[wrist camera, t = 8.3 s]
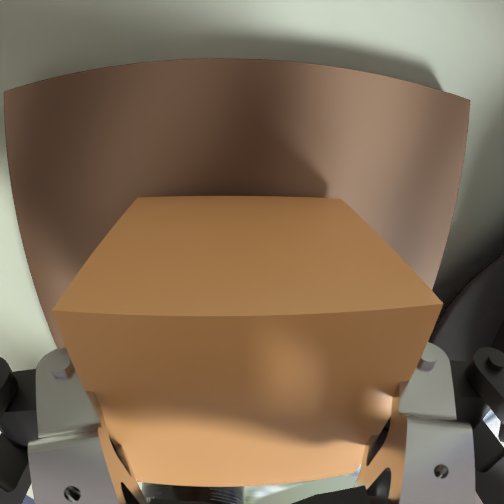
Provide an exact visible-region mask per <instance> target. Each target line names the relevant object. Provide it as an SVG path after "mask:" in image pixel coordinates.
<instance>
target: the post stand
mask: <svg viewBox="0 0 504 504" xmlns="http://www.w3.org/2000/svg"><path fill="white" fill-rule="evenodd" d="M469 111H470V100H468V99H465V98H463V97H460V96H457V95H454V94H451V93H447V92H444V91H441V90H438V89H434V88H431V87H427V86H424V85H420V84H416V83H413V82H409V81H405V80H401V79H396V78H392V77H388V76H383V75H378V74H374V73H368V72H363V71H358V70H352V69H346V68H340V67H333V66H326V65H318V64H310V63H301V62H290V61H278V60H262V59H229V58H214V59H182V60H166V61H154V62H143V63H134V64H126V65H119V66H112V67H105V68H99V69H93V70H88V71H82V72H77V73H72V74H68V75H63V76H59V77H54V78H50V79H46V80H42V81H38V82H35V83H31V84H28V85H24V86H21V87H17V88H14V89H11V90H8V91H4V117H5V135H6V147H7V157H8V166H9V174H10V181H11V187H12V194H13V199H14V205H15V210H16V215H17V220H18V225H19V230H20V234H21V238H22V242H23V247H24V250H25V254H26V258H27V262H28V265H29V269H30V272H31V276H32V279H33V282H34V286H35V289H36V292H37V295H38V298H39V301H40V304H41V307H42V310H43V312H44V315H45V318H46V321H47V323H48V326H49V329H50V331H51V334H52V336H53V339H54V341H55V344H56V346H57V348H58V349H60V348H65V344H64V342H63V339H62V336H61V334H60V331H59V328H58V326H57V323H56V320H55V317H54V315H53V312H52V309H53V308H54V306H55V305H56V303H57V302H58V301H59V299H60V298H61V296H62V295H63V293H64V292H65V290H66V289H67V287H68V286H69V285H70V283H71V282H72V280H73V279H74V278H75V276H76V275H77V273H78V272H79V271H80V269H81V268H82V267H83V265H84V264H85V262H86V261H87V260H88V258H89V257H90V256H91V254H92V253H93V252H94V251H95V249H96V248H97V247H98V245H99V244H100V243H101V241H102V240H103V239H104V238H105V236H106V235H107V234H108V233H109V231H110V230H111V229H112V228H113V226H114V225H115V224H116V223H117V221H118V220H119V219H120V218H121V217H122V215H123V214H124V213H125V212H126V211H127V209H128V208H129V207H130V206H131V205H132V203H133V202H134V201H135V200H136V199H137V198H138V197H169V196H281V197H316V198H340V199H342V200H343V201H344V202H345V203H346V204H347V205H348V206H349V207H350V208H352V209H353V210H354V211H355V212H356V213H357V214H358V215H359V216H360V217H361V218H362V219H363V220H364V221H365V222H366V223H367V224H368V225H369V226H370V227H371V228H372V229H373V230H374V231H375V232H376V233H377V234H378V235H379V236H380V237H381V238H382V239H383V240H384V241H385V242H386V243H387V244H388V245H389V246H390V247H391V248H392V249H393V250H394V251H395V252H396V253H397V254H398V255H399V256H400V257H401V258H402V259H403V260H404V261H405V262H406V263H407V264H408V265H409V266H410V267H411V268H412V269H413V271H414V272H415V273H416V274H417V275H418V276H419V277H420V278H421V279H422V280H423V281H424V282H425V283H426V285H427V286H428V287H429V288H430V289H431V290H432V289H433V286H434V283H435V280H436V277H437V274H438V270H439V267H440V264H441V260H442V257H443V253H444V250H445V246H446V242H447V239H448V235H449V231H450V227H451V223H452V218H453V214H454V210H455V205H456V200H457V195H458V190H459V185H460V180H461V174H462V168H463V162H464V155H465V148H466V140H467V132H468V122H469Z"/></svg>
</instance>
